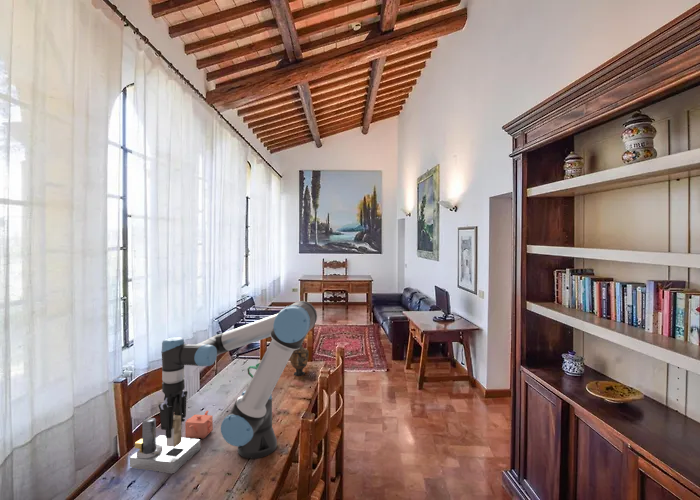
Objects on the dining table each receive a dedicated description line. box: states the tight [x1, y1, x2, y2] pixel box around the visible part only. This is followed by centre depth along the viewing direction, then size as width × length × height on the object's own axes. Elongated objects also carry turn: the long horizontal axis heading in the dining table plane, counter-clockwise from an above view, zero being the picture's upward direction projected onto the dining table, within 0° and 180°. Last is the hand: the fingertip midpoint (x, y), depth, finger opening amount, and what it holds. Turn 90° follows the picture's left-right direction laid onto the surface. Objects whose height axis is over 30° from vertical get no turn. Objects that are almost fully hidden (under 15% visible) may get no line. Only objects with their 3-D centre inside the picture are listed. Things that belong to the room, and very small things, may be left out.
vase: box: [289, 344, 310, 377], centre depth 233 cm, size 12×12×30 cm
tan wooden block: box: [171, 414, 181, 447], centre depth 139 cm, size 4×4×10 cm
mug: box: [246, 362, 260, 379], centre depth 220 cm, size 15×10×10 cm
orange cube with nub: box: [184, 410, 214, 440], centre depth 159 cm, size 12×15×8 cm
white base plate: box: [129, 434, 201, 474], centre depth 142 cm, size 18×16×4 cm
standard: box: [134, 417, 162, 459], centre depth 139 cm, size 9×8×12 cm
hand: (174, 442), depth 139 cm, fingers closed on tan wooden block, 3 cm apart
